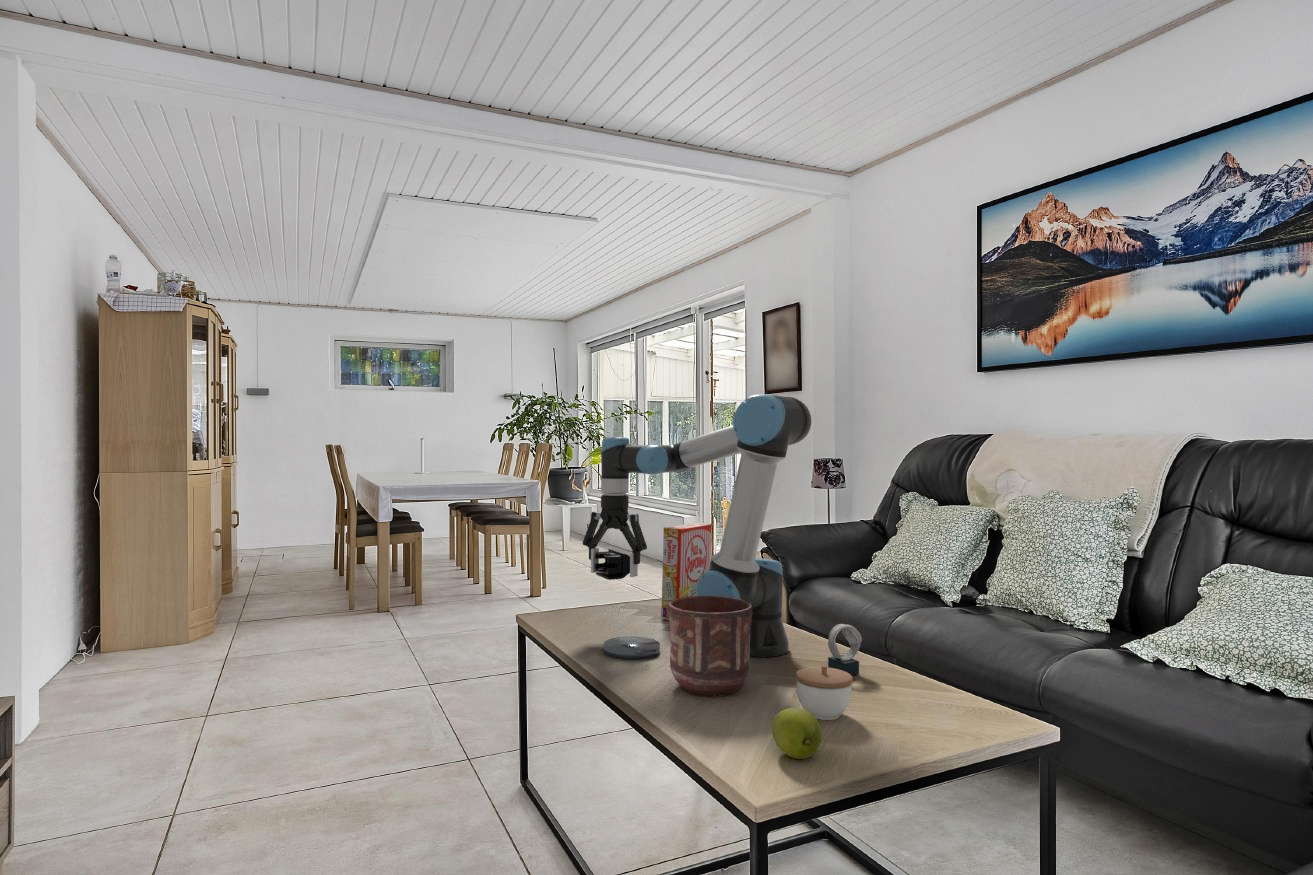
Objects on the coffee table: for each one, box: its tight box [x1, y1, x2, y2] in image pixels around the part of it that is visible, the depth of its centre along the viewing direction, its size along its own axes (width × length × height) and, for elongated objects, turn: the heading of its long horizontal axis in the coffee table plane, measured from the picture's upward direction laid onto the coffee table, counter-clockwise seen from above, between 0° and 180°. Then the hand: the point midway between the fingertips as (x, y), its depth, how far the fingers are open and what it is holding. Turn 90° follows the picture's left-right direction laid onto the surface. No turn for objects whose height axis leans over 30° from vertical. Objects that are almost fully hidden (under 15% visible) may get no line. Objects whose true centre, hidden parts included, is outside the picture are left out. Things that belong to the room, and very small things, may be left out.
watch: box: [827, 623, 863, 677], centre depth 177 cm, size 6×8×11 cm
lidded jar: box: [795, 665, 853, 721], centre depth 150 cm, size 11×11×9 cm
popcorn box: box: [660, 522, 712, 621], centre depth 234 cm, size 20×6×27 cm, turn 149°
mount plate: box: [602, 636, 661, 661], centre depth 192 cm, size 14×14×2 cm
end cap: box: [595, 548, 630, 581], centre depth 209 cm, size 10×7×7 cm
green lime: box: [771, 707, 823, 760], centre depth 130 cm, size 8×9×8 cm
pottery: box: [668, 596, 752, 697], centre depth 165 cm, size 18×18×18 cm
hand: (613, 574), depth 209 cm, fingers closed on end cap, 12 cm apart
